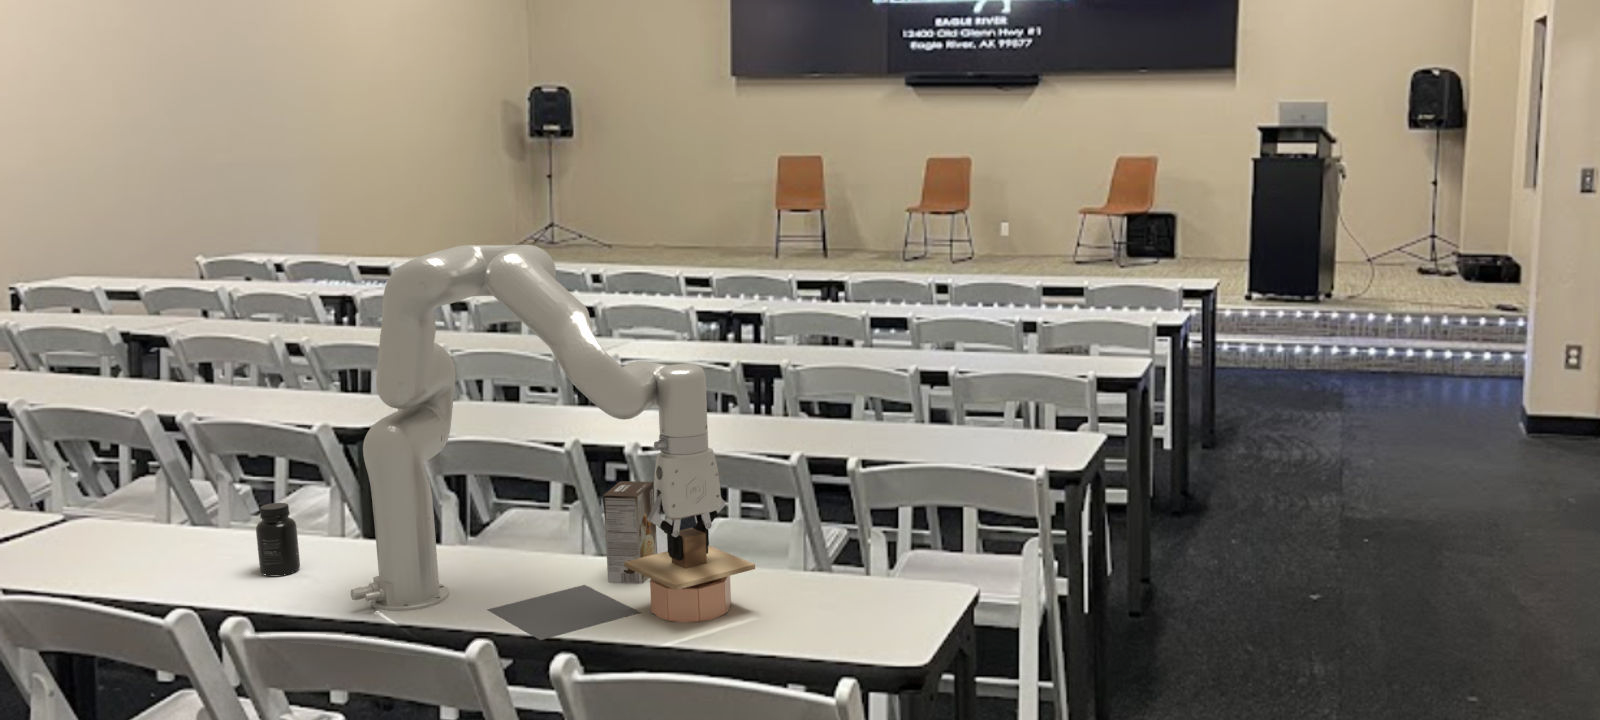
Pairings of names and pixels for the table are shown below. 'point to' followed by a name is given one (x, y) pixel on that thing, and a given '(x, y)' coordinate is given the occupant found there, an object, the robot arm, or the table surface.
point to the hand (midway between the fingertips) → (688, 554)
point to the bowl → (691, 601)
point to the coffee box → (628, 528)
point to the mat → (563, 612)
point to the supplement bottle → (277, 540)
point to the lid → (689, 563)
